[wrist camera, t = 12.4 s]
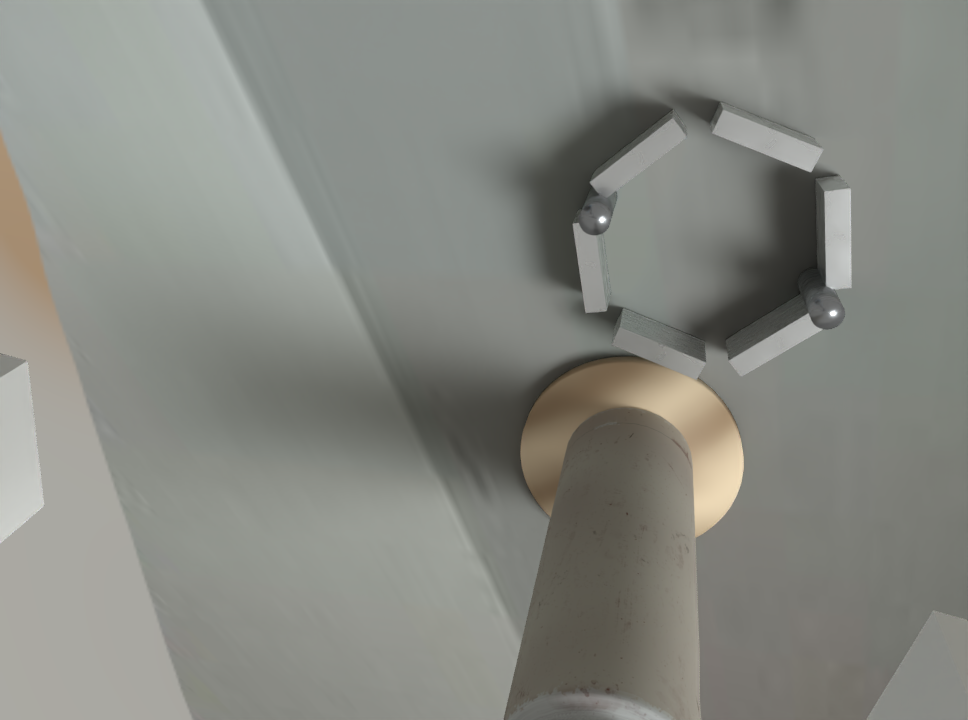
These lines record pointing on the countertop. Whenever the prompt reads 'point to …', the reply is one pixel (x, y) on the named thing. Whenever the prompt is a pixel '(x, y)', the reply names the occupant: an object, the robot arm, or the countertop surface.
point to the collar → (772, 330)
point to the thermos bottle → (615, 581)
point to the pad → (648, 390)
